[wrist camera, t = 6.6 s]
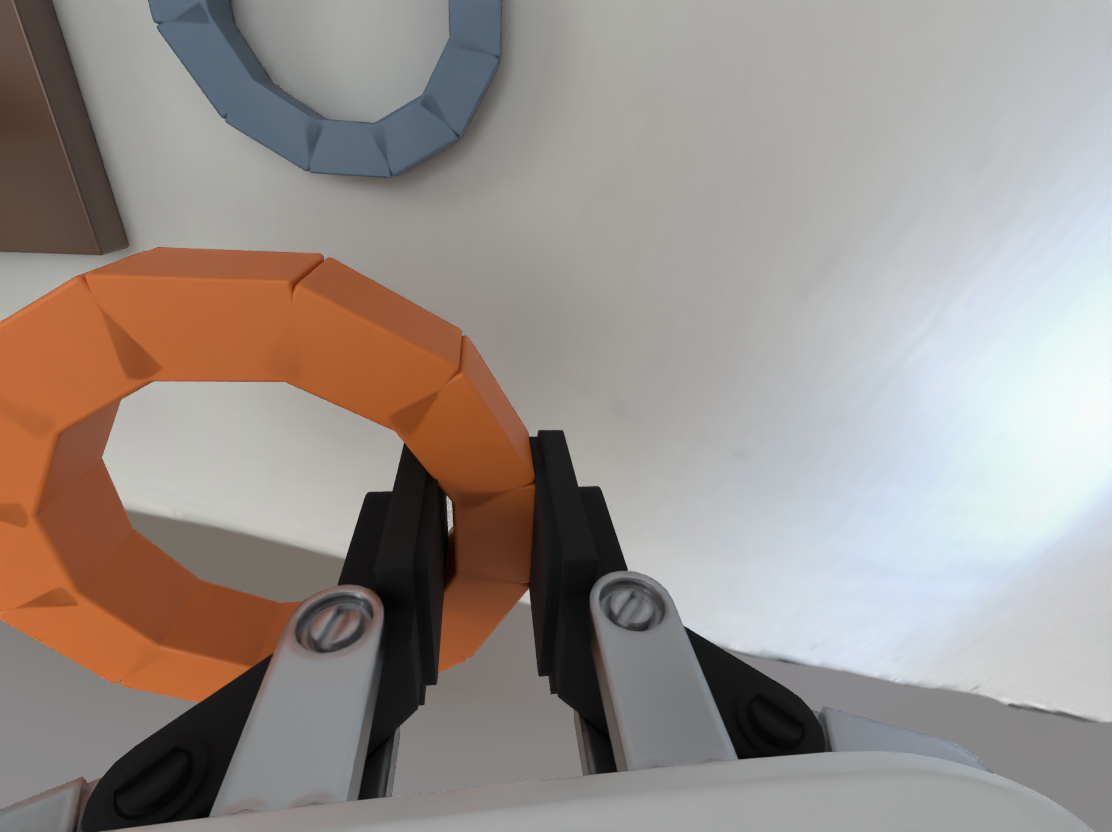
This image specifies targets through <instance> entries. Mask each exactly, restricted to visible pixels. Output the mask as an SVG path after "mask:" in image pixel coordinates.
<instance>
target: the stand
mask: <svg viewBox="0 0 1112 832" xmlns="http://www.w3.org/2000/svg"><path fill="white" fill-rule="evenodd" d="M127 247H128V243H127V240H126V237H125V233H124V230H123V227H122V224H121V221H120V218H119V214H118V211H117V208H116V205H115V202H114V199H113V195H112V192H111V189H110V186H109V183H108V180H107V177H106V173H105V170H104V167H103V164H102V161H101V158H100V154H99V151H98V148H97V145H96V142H95V139H94V135H93V132H92V129H91V126H90V123H89V120H88V117H87V113H86V110H85V107H84V104H83V101H82V98H81V94H80V91H79V88H78V85H77V82H76V79H75V75H74V72H73V69H72V66H71V63H70V60H69V57H68V53H67V50H66V47H65V44H64V41H63V38H62V34H61V31H60V28H59V25H58V22H57V19H56V16H55V12H54V9H53V6H52V3H51V0H0V252H23V253H51V254H79V255H104V254H107V253H110V252H114V251H117V250H120V249H123V248H127Z"/></svg>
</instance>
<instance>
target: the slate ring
mask: <svg viewBox="0 0 1112 832" xmlns="http://www.w3.org/2000/svg"><path fill="white" fill-rule="evenodd" d="M148 2H149V6H150V10H151V14H152V18H153V21H154V22H155V23H157V24H159V25H158V26H157V28H158V30H159V32H160V33H161V35H162V36H163V37H164V39H165V40H166V42H167V43H168V44H169V46H170V47H171V48H172V50H173V51H174V53H175V54H176V55H177V57H178V58H179V59H180V61H181V62H182V64H183V65H184V66H185V68H186V69H187V71H188V72H189V73H190V75H191V76H192V77H193V79H194V80H195V82H196V83H197V84H198V86H199V87H200V88H201V90H202V91H203V93H204V94H205V95H206V97H207V98H208V100H209V101H210V102H211V104H212V105H213V106H214V108H215V109H216V111H217V112H218V113H219V115H220V116H221V117H222V118H224V119H226V120H225V122H226V123H228V124H229V125H231V126H233V127H234V128H236V129H237V130H239V131H241V132H242V133H244V134H246V135H247V136H249V137H251V138H252V139H254V140H256V141H257V142H259V143H261V144H262V145H264V146H265V147H267V148H269V149H270V150H272V151H274V152H275V153H277V154H279V155H280V156H282V157H284V158H285V159H287V160H288V161H290V162H292V163H293V164H295V165H297V166H298V167H300V168H302V169H303V170H305V171H310V173H319V174H335V175H352V176H368V177H384V178H390V177H392V176H397V175H399V174H401V173H403V172H405V171H406V170H408V169H410V168H412V167H413V166H415V165H417V164H419V163H420V162H422V161H424V160H425V159H427V158H429V157H431V156H432V155H434V154H436V153H438V152H439V151H441V150H443V149H444V148H446V147H448V146H450V145H451V144H453V143H455V142H457V141H458V140H459V136H461V137H462V136H463V135H464V133H465V131H466V129H467V127H468V125H469V123H470V121H471V119H472V117H473V115H474V113H475V112H476V110H477V108H478V106H479V104H480V102H481V100H482V98H483V96H484V94H485V92H486V90H487V88H488V86H489V84H490V82H491V81H492V79H493V77H494V75H495V73H496V71H497V69H498V65H499V61H500V57H501V35H502V0H449V32H450V38H449V40H448V42H447V44H446V46H445V48H444V50H443V52H442V54H441V56H440V59H439V61H438V63H437V65H436V67H435V69H434V71H433V73H432V75H431V77H430V80H429V82H428V84H427V86H426V88H425V90H424V92H423V94H422V95H421V96H419V97H417V98H416V99H414V100H412V101H411V102H409V103H407V104H406V105H404V106H402V107H401V108H399V109H397V110H396V111H394V112H392V113H391V114H389V115H387V116H386V117H384V118H382V119H380V120H379V121H377V122H375V123H367V122H354V121H341V120H327V119H325V118H324V117H322V116H321V115H319V114H318V113H316V112H315V111H313V110H312V109H310V108H309V107H307V106H306V105H304V104H303V103H301V102H300V101H298V100H296V99H295V98H293V97H292V96H290V95H289V94H287V93H286V92H284V91H283V90H281V89H280V88H278V87H277V86H275V85H274V84H273V82H272V81H271V79H270V78H269V76H268V75H267V73H266V72H265V70H264V69H263V67H262V66H261V64H260V63H259V61H258V59H257V58H256V56H255V55H254V53H253V52H252V50H251V49H250V47H249V46H248V44H247V43H246V41H245V40H244V38H243V37H242V35H241V34H240V32H239V31H238V29H237V27H236V26H235V24H234V20H233V14H232V9H231V3H230V0H148Z"/></svg>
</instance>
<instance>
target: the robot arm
mask: <svg viewBox="0 0 1112 832" xmlns="http://www.w3.org/2000/svg"><path fill="white" fill-rule="evenodd" d="M529 440H530V447H531V453H532V459H533V466H534V472H535V503H534V520H533V537H532V553H531V570H530V582H529V591H530V601H531V610H532V619H533V629H534V638H535V648H536V658H537V667H538V674H539V676H549V683H550V691H551V694H558V697H559V698H560V699H562V700H563V701H564V702H565V703H567V704H568V705H569V706H570V707H572V708H573V709H574V722H575V729H576V735H577V741H578V747H579V753H580V759H581V766H582V772H583V776H576V777H567V778H558V779H549V780H539V781H530V782H521V783H512V784H503V785H493V786H484V787H476V788H466V789H457V790H447V791H438V792H429V793H420V794H412V795H402V796H393V797H392V791H393V783H394V776H395V769H396V761H397V754H398V747H399V739H400V725H401V724H402V723H403V722H405V721H406V720H407V719H408V718H409V717H410V716H411V715H412V714H413V713H414V712H415V711H416V710H417V709H418V705H424V703H425V702H424V701H425V693H426V685H436V684H437V679H438V667H439V654H440V641H441V628H442V615H443V602H444V582H445V569H446V556H447V543H448V522H447V500H446V494H445V492H444V491H443V490H442V489H441V488H440V486H439V485H438V479H433V478H432V476H431V475H430V474H429V473H428V471H427V470H426V469H425V468H424V466H423V465H422V464H421V463H420V461H419V460H418V459H417V458H416V456H415V455H414V454H413V453H412V451H411V450H410V449H409V448H408V446H407V445H406V444H405V443H404V446H403V450H402V454H401V458H400V463H399V467H398V471H397V475H396V479H395V483H394V487H393V491H387V492H368V493H367V494H366V496H365V498H364V502H363V505H362V508H361V511H360V514H359V518H358V521H357V524H356V527H355V530H354V534H353V537H352V540H351V543H350V546H349V550H348V553H347V556H346V559H345V563H344V566H343V569H342V573H341V576H340V579H339V582H338V585H337V586H333V587H329V588H327V589H324V590H321V591H319V592H316V593H315V594H313V595H312V596H310V597H308V598H307V599H305V600H304V601H303V602H302V603H301V604H300V605H299V606H298V607H296V608H295V609H294V610H293V612H292V613H291V615H290V617H289V618H288V620H287V622H286V623H285V626H284V629H283V631H282V634H281V636H280V639H279V641H278V644H277V646H276V649H275V651H274V653H272V654H271V655H269V656H268V657H266V658H265V659H263V660H262V661H260V662H259V663H257V664H256V665H254V666H253V667H251V668H250V669H249V670H247V671H246V672H244V673H243V674H241V675H240V676H238V677H237V678H235V679H234V680H232V681H231V682H229V683H228V684H226V685H225V686H223V687H222V688H221V689H219V690H218V691H216V692H215V693H213V694H212V695H210V696H209V697H207V698H206V699H204V700H203V701H201V702H200V703H198V704H197V705H195V706H194V707H192V708H191V709H190V710H188V711H187V712H185V713H184V714H182V715H181V716H179V717H178V718H177V719H175V720H173V721H172V722H171V723H169V724H168V725H166V726H164V727H163V728H162V729H160V730H159V731H157V732H156V733H154V734H153V735H151V736H150V737H148V738H147V739H145V740H144V741H142V742H141V743H140V744H138V745H136V746H135V747H134V748H133V749H132V750H130V751H129V752H128V753H127V754H125V755H124V756H123V757H122V758H120V759H119V760H118V761H116V762H115V763H114V765H113V766H112V767H111V768H110V769H109V770H108V771H107V773H106V774H105V775H104V776H103V777H102V778H99V779H97V780H94V781H92V782H89V783H87V782H86V780H85V779H84V778H83V777H80V778H78V779H75V780H73V781H70V782H68V783H65V784H62V785H60V786H57V787H55V788H53V789H50V790H47V791H45V792H42V793H40V794H38V795H35V796H33V797H30V798H27V799H25V800H23V801H20V802H17V803H15V804H12V805H10V806H7V807H5V808H3V809H0V832H1094V831H1093V830H1092V829H1091V828H1090V827H1088V826H1087V825H1086V824H1085V823H1083V822H1082V821H1081V820H1079V819H1078V818H1077V817H1075V816H1074V815H1073V814H1072V813H1071V812H1069V811H1068V810H1066V809H1065V808H1063V807H1061V806H1060V805H1058V804H1056V803H1055V802H1053V801H1052V800H1050V799H1048V798H1047V797H1045V796H1043V795H1041V794H1039V793H1037V792H1035V791H1033V790H1031V789H1029V788H1027V787H1025V786H1023V785H1021V784H1018V783H1016V782H1013V781H1011V780H1008V779H1006V778H1004V777H1001V776H999V775H996V774H994V773H993V772H992V771H991V770H990V769H989V768H988V767H987V766H986V765H985V764H984V763H983V762H982V761H981V760H980V759H979V758H977V757H976V756H974V755H973V754H972V753H970V752H969V751H967V750H966V749H964V748H963V747H961V746H959V745H956V744H954V743H952V742H949V741H947V740H945V739H941V738H937V737H934V736H930V735H926V734H923V733H919V732H916V731H912V730H908V729H905V728H901V727H898V726H894V725H890V724H886V723H883V722H879V721H875V720H872V719H868V718H865V717H861V716H857V715H854V714H850V713H847V712H843V711H839V710H835V709H832V708H829V707H825V706H823V708H822V710H821V711H820V712H817V711H814V710H811V709H810V708H809V707H808V706H807V705H806V704H805V702H804V701H803V700H802V699H801V698H799V697H798V696H797V695H795V694H794V693H793V692H791V691H790V690H789V689H787V688H785V687H784V686H783V685H781V684H779V683H778V682H776V681H774V680H772V679H771V678H769V677H768V676H766V675H764V674H763V673H761V672H759V671H758V670H756V669H754V668H753V667H751V666H749V665H748V664H746V663H744V662H743V661H741V660H739V659H737V658H736V657H734V656H733V655H731V654H730V653H728V652H726V651H725V650H723V649H721V648H720V647H718V646H716V645H715V644H713V643H711V642H710V641H708V640H706V639H705V638H703V637H701V636H700V635H698V634H696V633H695V632H693V631H691V630H690V629H688V628H686V627H685V626H683V624H682V621H681V619H680V616H679V614H678V611H677V609H676V606H675V604H674V602H673V600H672V598H671V596H670V595H669V593H668V591H667V590H666V589H665V588H664V587H663V586H662V585H661V584H660V583H659V582H657V581H656V580H654V579H652V578H650V577H649V576H647V575H644V574H641V573H637V572H633V571H628V569H627V566H626V563H625V560H624V557H623V554H622V551H621V548H620V545H619V542H618V539H617V536H616V533H615V530H614V527H613V524H612V521H611V518H610V515H609V512H608V509H607V505H606V502H605V499H604V496H603V493H602V491H601V489H600V487H598V486H589V487H578V484H577V480H576V476H575V472H574V469H573V465H572V461H571V458H570V454H569V450H568V447H567V443H566V439H565V436H564V432H563V430H539V431H538V435H537V437H529Z"/></svg>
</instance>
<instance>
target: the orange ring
mask: <svg viewBox="0 0 1112 832" xmlns="http://www.w3.org/2000/svg"><path fill="white" fill-rule="evenodd" d="M153 381H228V382H287V383H289V384H291V385H293V386H295V387H298V388H300V389H302V390H304V391H307V392H309V393H311V394H313V395H316V396H318V397H320V398H322V399H325V400H327V401H329V402H331V403H333V404H336V405H338V406H340V407H342V408H345V409H347V410H349V411H351V412H354V413H356V414H358V415H360V416H363V417H365V418H367V419H369V420H371V421H374V422H376V423H378V424H380V425H383V426H385V427H387V428H389V429H392V430H394V431H395V432H396V433H397V434H398V435H399V437H400V438H401V439H402V440H403V441H404V443H405V444H406V445H407V446H408V448H409V449H410V450H411V451H412V453H413V454H414V455H415V456H416V458H417V459H418V460H419V461H420V463H421V464H422V465H423V466H424V468H425V469H426V470H427V471H428V473H429V474H430V475H431V476H432V478H433V479H438V485H439V486H440V488H441V489H442V490H443V491H444V492H445V494H446V495H447V496H448V497H449V499H450V500H451V501H452V509H453V527H452V528H451V530H450V531H449V532H448V543H447V556H446V569H445V582H444V602H443V615H442V628H441V641H440V654H439V667H438V673H439V672H442V671H444V670H446V669H448V668H451V667H453V666H455V665H457V664H460V663H462V662H464V661H465V660H466V659H467V657H468V658H470V657H472V656H473V655H474V653H475V652H476V651H477V650H478V649H479V647H480V646H481V645H482V644H483V643H484V641H485V640H486V639H487V638H488V637H489V635H490V634H491V633H492V632H493V631H494V629H495V628H496V627H497V626H498V624H499V623H500V622H501V621H502V620H503V619H504V617H505V616H506V615H507V614H508V613H509V611H510V610H511V609H512V608H513V607H514V605H515V604H516V603H517V602H518V601H519V600H520V598H521V597H522V596H523V595H524V594H525V592H526V591H527V590H528V589H529V582H530V570H531V553H532V537H533V520H534V503H535V472H534V466H533V459H532V453H531V447H530V440H529V434H528V431H527V429H526V427H525V426H524V424H523V423H522V421H521V419H520V418H519V416H518V415H517V413H516V411H515V410H514V408H513V407H512V405H511V404H510V402H509V400H508V399H507V397H506V396H505V394H504V392H503V391H502V389H501V388H500V386H499V384H498V383H497V381H496V380H495V378H494V377H493V375H492V373H491V372H490V370H489V369H488V367H487V365H486V364H485V362H484V361H483V359H482V357H481V356H480V354H479V353H478V351H477V349H476V348H475V346H474V345H473V343H472V342H471V340H470V338H469V337H467V336H466V335H465V336H462V331H461V330H460V329H459V328H458V327H456V326H454V325H452V324H450V323H449V322H447V321H445V320H443V319H441V318H440V317H438V316H436V315H434V314H432V313H431V312H429V311H427V310H425V309H423V308H422V307H420V306H418V305H416V304H414V303H413V302H411V301H409V300H407V299H405V298H403V297H402V296H400V295H398V294H396V293H394V292H393V291H391V290H389V289H387V288H385V287H384V286H382V285H380V284H378V283H376V282H375V281H373V280H371V279H369V278H367V277H366V276H364V275H362V274H360V273H358V272H357V271H355V270H353V269H351V268H349V267H348V266H346V265H344V264H342V263H340V262H339V261H337V260H335V259H333V258H329V257H328V258H327V259H326V260H325V261H324V257H323V255H322V254H319V253H294V252H268V251H242V250H217V249H191V248H166V247H157V248H155V249H152V250H149V251H143V252H141V253H138V254H135V255H132V256H130V257H127V258H124V259H122V260H119V261H116V262H114V263H111V264H108V265H105V266H103V267H100V268H97V269H95V270H92V271H89V272H86V273H84V274H81V275H78V276H76V277H74V278H72V279H71V280H69V281H67V282H66V283H64V284H62V285H61V286H59V287H57V288H56V289H54V290H52V291H51V292H49V293H48V294H46V295H44V296H43V297H41V298H39V299H38V300H36V301H34V302H33V303H31V304H29V305H28V306H26V307H24V308H23V309H21V310H19V311H18V312H16V313H15V314H13V315H11V316H10V317H8V318H6V319H5V320H3V321H1V322H0V620H2V621H4V622H6V623H8V624H9V625H11V626H13V627H14V628H16V629H18V630H20V631H22V632H23V633H25V634H27V635H29V636H30V637H32V638H34V639H36V640H37V641H39V642H41V643H43V644H44V645H46V646H48V647H50V648H51V649H53V650H55V651H57V652H59V653H60V654H62V655H64V656H65V657H67V658H69V659H71V660H72V661H74V662H76V663H78V664H80V665H82V666H83V667H85V668H87V669H89V670H90V671H92V672H94V673H96V674H97V675H99V676H101V677H102V678H104V679H106V680H108V681H109V682H111V683H117V682H119V681H121V685H122V686H123V687H128V688H133V689H137V690H142V691H147V692H152V693H157V694H162V695H166V696H172V697H176V698H181V699H186V700H190V701H195V702H201V701H203V700H204V699H206V698H207V697H209V696H210V695H212V694H213V693H215V692H216V691H218V690H219V689H221V688H222V687H223V686H225V685H226V684H228V683H229V682H231V681H232V680H234V679H235V678H237V677H238V676H240V675H241V674H243V673H244V672H246V671H247V670H249V669H250V668H251V667H253V666H254V665H256V664H257V663H259V662H260V661H262V660H263V659H265V658H266V657H268V656H269V655H271V654H272V653H274V651H275V649H276V646H277V644H278V641H279V639H280V636H281V634H282V631H283V629H284V626H285V623H286V622H287V620H288V618H289V617H290V615H291V613H292V612H293V610H294V609H295V608H296V607H298V606H299V605H300V604H301V603H302V602H285V603H279V602H276V601H272V600H268V599H265V598H262V597H258V596H255V595H252V594H248V593H244V592H241V591H238V590H234V589H231V588H227V587H224V586H220V585H217V584H213V583H210V582H207V581H203V580H200V579H199V578H198V577H197V576H195V575H194V574H193V573H191V572H190V571H189V570H187V569H186V568H185V567H183V566H182V565H181V564H179V563H178V562H177V561H175V560H174V559H173V558H172V557H170V556H169V555H168V554H166V553H165V552H164V551H162V550H161V549H160V548H158V547H157V546H156V545H154V544H153V543H152V542H150V541H149V540H148V539H146V538H145V537H144V536H143V535H141V534H140V533H138V532H137V531H136V530H135V529H133V527H132V525H131V523H130V520H129V518H128V516H127V514H126V511H125V509H124V507H123V505H122V502H121V500H120V498H119V496H118V493H117V491H116V489H115V487H114V484H113V482H112V480H111V477H110V475H109V473H108V471H107V468H106V466H105V464H104V462H103V459H102V456H103V453H104V450H105V446H106V443H107V440H108V437H109V434H110V431H111V428H112V425H113V422H114V419H115V416H116V413H117V410H118V407H119V404H120V401H121V399H123V398H125V397H127V396H128V395H130V394H132V393H134V392H135V391H137V390H139V389H141V388H143V387H144V386H146V385H148V384H150V383H151V382H153Z"/></svg>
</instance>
